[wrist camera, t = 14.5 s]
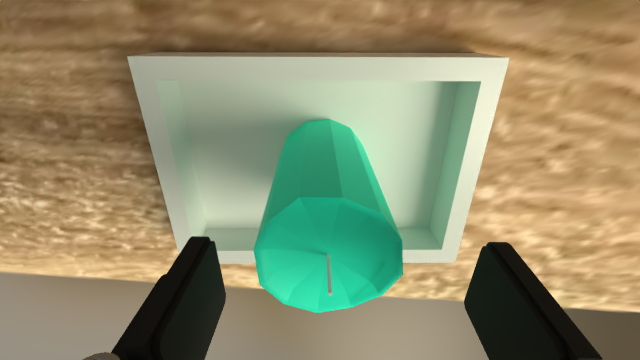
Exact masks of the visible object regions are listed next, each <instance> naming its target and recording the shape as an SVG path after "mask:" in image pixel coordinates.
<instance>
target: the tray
mask: <svg viewBox="0 0 640 360" xmlns="http://www.w3.org/2000/svg"><path fill="white" fill-rule="evenodd" d="M127 59H128V63H129V66H130V70H131V74H132V78H133V82H134V85H135V89H136V93H137V97H138V101H139V104H140V108H141V112H142V116H143V120H144V123H145V127H146V131H147V135H148V138H149V142H150V146H151V150H152V154H153V157H154V161H155V165H156V169H157V173H158V176H159V180H160V184H161V188H162V192H163V195H164V199H165V203H166V207H167V211H168V214H169V218H170V222H171V226H172V230H173V233H174V237H175V241H176V245H177V248H178V252H179V254H180V252H181V251H182V249H183V248H184V246H185V245H186V243H187V241H188V240H189V238H190V237H192V236H205V237H209V238H210V240H211V241H214V242H215V244H216V249H217V254H218V259H219V264H256V261H255V256H254V246H255V242H256V239H257V235H258V232H259V228H260V225H261V221H262V217H263V214H264V210H265V207H266V203H267V200H268V196H269V193H270V189H271V185H272V182H273V178H274V175H275V171H276V168H277V164H278V160H279V157H280V154H281V151H282V149H283V146H284V144H285V141H286V139H287V137H288V135H289V134H290V133H291V132H293V131H294V130H295V129H297V128H298V127H300V126H301V125H302V124H304V123H305V122H306V121H315V120H324V119H331V120H333V121H336V122H338V123H340V124H343V125H345V126H347V127H350V128H351V129H352V131H353V132H354V133H355V135H356V136H357V138H358V139H359V140H360V142H361V143H362V145H363V147H364V149H365V151H366V154H367V156H368V159H369V161H370V163H371V166H372V168H373V171H374V173H375V176H376V178H377V180H378V183H379V185H380V188H381V190H382V192H383V195H384V197H385V200H386V202H387V204H388V207H389V209H390V212H391V214H392V216H393V219H394V221H395V224H396V226H397V229H398V231H399V233H400V236H401V238H402V243H403V263H446V262H455V260H456V257H457V253H458V249H459V245H460V242H461V238H462V234H463V230H464V227H465V223H466V219H467V215H468V212H469V208H470V204H471V200H472V197H473V193H474V189H475V185H476V182H477V178H478V174H479V170H480V167H481V163H482V159H483V155H484V152H485V148H486V144H487V141H488V137H489V133H490V129H491V126H492V122H493V118H494V114H495V111H496V107H497V103H498V99H499V96H500V92H501V88H502V84H503V81H504V77H505V73H506V69H507V66H508V62H509V57H502V56H495V55H488V54H481V53H327V52H154V53H147V54H140V55H133V56H127Z"/></svg>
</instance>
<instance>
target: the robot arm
mask: <svg viewBox="0 0 640 360" xmlns="http://www.w3.org/2000/svg"><path fill="white" fill-rule="evenodd" d="M225 299H226V293H225V288H224V283H223V278H222V274H221V269H220V264H219V259H218V254H217V249H216V244H215V242H214V241H211V240H210V238H209V237H205V236H192V237H190V238H189V240H188V241H187V243H186V245H185V246H184V248H183V249H182V251H181V252H180V254H179V256H178V257H177V259H176V260H175V262H174V263H173V265H172V267H171V268H170V270H169V271H168V273H167V274H164V275H163V276H161V278H160V279H159V280H158V281H157V283H156V284H155V286H154V288H153V289H152V291H151V292H150V294H149V295H148V297H147V298H146V300H145V301H144V303H143V304H142V306H141V307H140V309H139V311H138V312H137V314H136V315H135V317H134V318H133V320H132V321H131V323H130V324H129V326H128V327H127V329H126V330H125V332H124V334H123V335H122V337H121V338H120V340H119V341H118V343H117V344H116V346H115V347H114V349H113V350H112V352H111V353H106V352H104V353H98V354H94V355H92V356H89V357H87V358H85V359H83V360H204V359H205V356H206V354H207V351H208V348H209V345H210V343H211V340H212V337H213V335H214V332H215V329H216V326H217V324H218V320H219V318H220V315H221V313H222V310H223V307H224V304H225ZM464 304H465V309H466V311H467V314H468V316H469V318H470V320H471V322H472V324H473V326H474V328H475V331H476V333H477V335H478V337H479V339H480V341H481V343H482V345H483V348H484V350H485V352H486V354H487V356H488V358H489V360H602V357H601V356H600V355H599V354H598V352H597V351H596V350H595V349H594V347H593V346H592V345H591V344H590V343H589V341H588V340H587V339H586V338H585V336H584V335H583V334H582V333H581V331H580V330H579V329H578V328H577V326H576V325H575V324H574V323H573V322H572V320H571V319H570V318H569V316H568V315H567V314H566V313H565V312H564V310H563V309H562V308H561V307H560V305H559V304H558V303H557V302H556V300H555V299H554V298H553V297H552V295H551V294H550V293H549V292H548V290H547V289H546V288H545V287H544V286H543V284H542V283H541V282H540V281H539V279H538V278H537V277H536V276H535V274H534V273H533V272H532V271H531V269H530V268H529V267H528V266H527V264H526V263H525V262H524V261H523V260H522V258H521V257H520V256H519V255H518V253H517V252H516V251H515V250H514V248H513V247H512V246H511V245H510V244H509V243H507V242H489V243H488V244H487V245H486V246H483V247H482V249H481V252H480V255H479V258H478V261H477V264H476V267H475V270H474V273H473V276H472V279H471V282H470V285H469V288H468V291H467V294H466V297H465V300H464Z"/></svg>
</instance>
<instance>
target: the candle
mask: <svg viewBox="0 0 640 360" xmlns="http://www.w3.org/2000/svg"><path fill="white" fill-rule="evenodd" d="M254 256H255V261H256V267H257V272H258V277H259V283H260V285H261V286H262V287H263V288H265V289H266V290H267V291H268V292H270V293H271V294H272V295H273V296H275V297H276V298H277V299H278V300H280V301H281V302H282V303H284V304H286V305H290V306H293V307H297V308H301V309H304V310H308V311H312V312H315V313H320V312H326V311H332V310H338V309H345V308H351V307H354V306H356V305H359V304H361V303H364V302H366V301H369V300H371V299H374V298H376V297H379V296H381V295H383V294H384V293H385V292H386V291H387V290H388V289H389V288H390V287H391V286H392V285H393V284H394V283H395V282H396V281H397V280H398V279H399V278H400V277H401V276H402V275H403V243H402V238H401V236H400V233H399V231H398V229H397V226H396V224H395V221H394V219H393V216H392V214H391V212H390V209H389V207H388V204H387V202H386V200H385V197H384V195H383V192H382V190H381V188H380V185H379V183H378V180H377V178H376V176H375V173H374V171H373V168H372V166H371V163H370V161H369V159H368V156H367V154H366V151H365V149H364V147H363V145H362V143H361V142H360V140H359V139H358V138H357V136H356V135H355V133H354V132H353V131H352V129H351V128H350V127H347V126H345V125H343V124H340V123H338V122H336V121H333V120H331V119H324V120H315V121H306V122H305V123H304V124H302V125H301V126H300V127H298V128H297V129H295V130H294V131H293V132H291V133H290V134H289V135H288V137H287V139H286V141H285V144H284V146H283V149H282V151H281V154H280V157H279V160H278V164H277V168H276V171H275V175H274V178H273V182H272V185H271V189H270V193H269V196H268V200H267V203H266V207H265V210H264V214H263V217H262V221H261V225H260V228H259V232H258V235H257V239H256V242H255V246H254Z"/></svg>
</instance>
